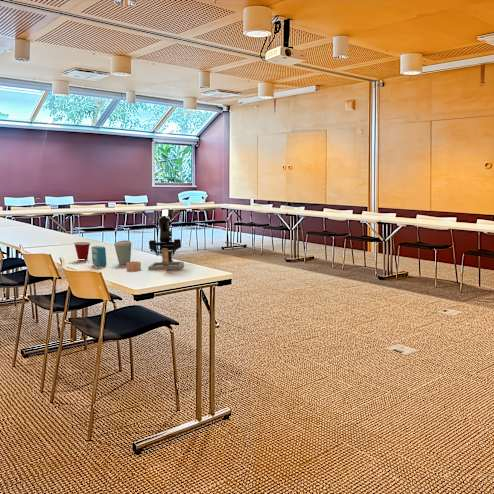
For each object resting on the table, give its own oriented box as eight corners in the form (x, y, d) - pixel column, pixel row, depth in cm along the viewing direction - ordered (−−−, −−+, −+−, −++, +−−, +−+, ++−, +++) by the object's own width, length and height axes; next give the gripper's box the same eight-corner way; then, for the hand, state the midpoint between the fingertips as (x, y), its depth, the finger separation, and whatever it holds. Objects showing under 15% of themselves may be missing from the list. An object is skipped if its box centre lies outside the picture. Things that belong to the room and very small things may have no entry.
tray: (154, 266, 330) (154, 262, 330) (183, 265, 330) (183, 261, 329) (148, 271, 315) (148, 266, 314) (179, 270, 314) (179, 265, 313)
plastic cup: (88, 261, 362) (87, 243, 361) (72, 261, 363) (71, 243, 361) (93, 258, 373) (92, 241, 371) (78, 259, 373) (76, 241, 372)
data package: (92, 264, 346) (91, 246, 344) (99, 264, 348) (98, 245, 347) (99, 267, 336) (98, 247, 334) (106, 266, 339) (105, 247, 337)
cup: (129, 269, 321) (128, 261, 321) (142, 269, 321) (141, 261, 320) (125, 272, 313) (124, 263, 313) (139, 271, 313) (138, 263, 312)
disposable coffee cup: (128, 266, 334) (127, 242, 332) (112, 266, 336) (110, 242, 334) (135, 263, 344) (134, 240, 342) (119, 263, 347) (118, 240, 345)
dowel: (161, 267, 321) (160, 248, 319) (167, 266, 322) (166, 248, 321) (164, 267, 318) (163, 249, 316) (169, 267, 319) (168, 248, 318)
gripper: (148, 227, 322) (148, 248, 313) (179, 225, 324) (180, 246, 315) (149, 238, 331) (149, 259, 322) (180, 237, 333) (181, 257, 324)
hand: (165, 255), depth 321 cm, fingers open, 9 cm apart
